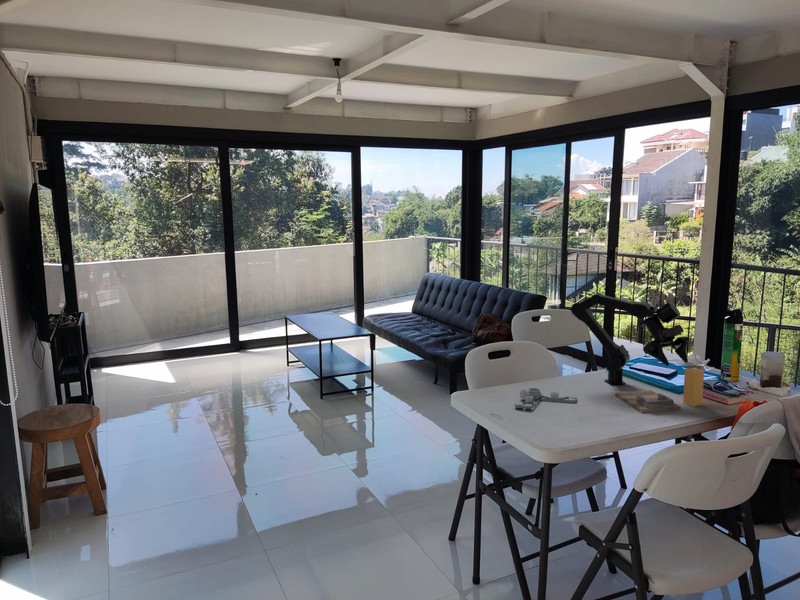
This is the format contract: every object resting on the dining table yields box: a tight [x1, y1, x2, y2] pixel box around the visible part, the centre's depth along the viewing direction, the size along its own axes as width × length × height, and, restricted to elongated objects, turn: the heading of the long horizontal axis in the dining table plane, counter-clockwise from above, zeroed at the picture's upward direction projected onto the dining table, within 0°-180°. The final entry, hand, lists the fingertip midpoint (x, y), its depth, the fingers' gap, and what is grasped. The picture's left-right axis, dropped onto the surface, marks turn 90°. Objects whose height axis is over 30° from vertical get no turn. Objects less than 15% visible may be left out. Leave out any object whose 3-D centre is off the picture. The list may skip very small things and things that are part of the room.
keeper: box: [614, 389, 682, 413], centre depth 221 cm, size 20×15×4 cm
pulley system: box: [514, 387, 577, 410], centre depth 226 cm, size 27×5×15 cm
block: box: [682, 367, 705, 407], centre depth 217 cm, size 4×4×13 cm
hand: (677, 363), depth 224 cm, fingers open, 9 cm apart
